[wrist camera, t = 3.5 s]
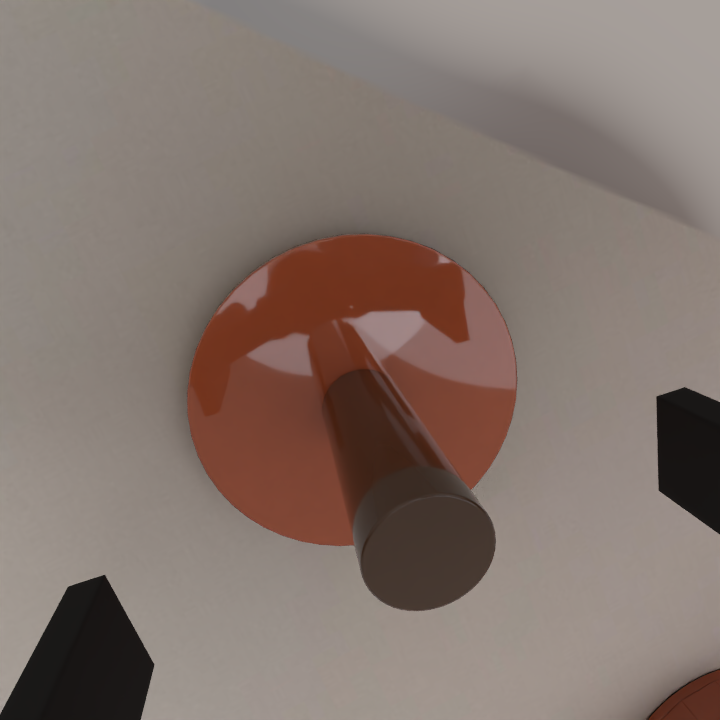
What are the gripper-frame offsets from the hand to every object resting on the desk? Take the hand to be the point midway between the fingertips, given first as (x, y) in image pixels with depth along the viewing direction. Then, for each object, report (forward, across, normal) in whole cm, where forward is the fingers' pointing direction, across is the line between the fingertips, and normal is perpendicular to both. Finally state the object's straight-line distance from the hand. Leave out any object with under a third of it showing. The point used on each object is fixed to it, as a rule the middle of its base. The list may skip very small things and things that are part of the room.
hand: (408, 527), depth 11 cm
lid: (+8, 0, 0) cm, 8 cm away
